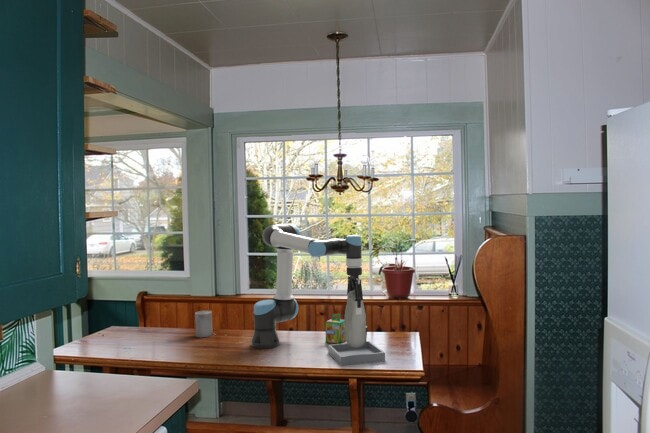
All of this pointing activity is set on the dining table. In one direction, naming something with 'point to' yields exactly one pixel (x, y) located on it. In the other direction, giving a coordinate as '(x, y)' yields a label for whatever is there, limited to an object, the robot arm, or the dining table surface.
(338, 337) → the chalk box
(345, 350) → the tray
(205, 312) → the pillar candle
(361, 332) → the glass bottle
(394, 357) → the dining table surface
